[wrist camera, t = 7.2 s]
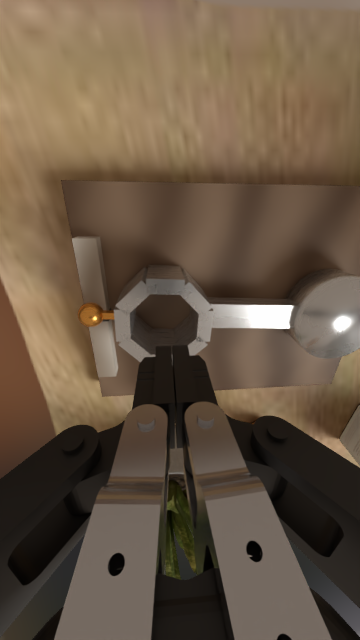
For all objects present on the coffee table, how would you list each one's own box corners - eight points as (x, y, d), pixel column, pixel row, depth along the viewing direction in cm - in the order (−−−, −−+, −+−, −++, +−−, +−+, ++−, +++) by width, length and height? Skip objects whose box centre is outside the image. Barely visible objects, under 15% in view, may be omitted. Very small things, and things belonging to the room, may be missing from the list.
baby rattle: (369, 269, 19) (418, 283, 16) (340, 340, 22) (374, 365, 19) (81, 259, 17) (60, 272, 13) (92, 340, 20) (77, 368, 16)
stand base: (383, 189, 19) (426, 185, 16) (319, 372, 27) (339, 392, 24) (71, 183, 17) (52, 177, 14) (106, 383, 25) (99, 406, 22)
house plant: (101, 472, 32) (51, 697, 17) (107, 399, 26) (40, 643, 11) (198, 475, 34) (229, 675, 19) (224, 408, 28) (295, 622, 14)
